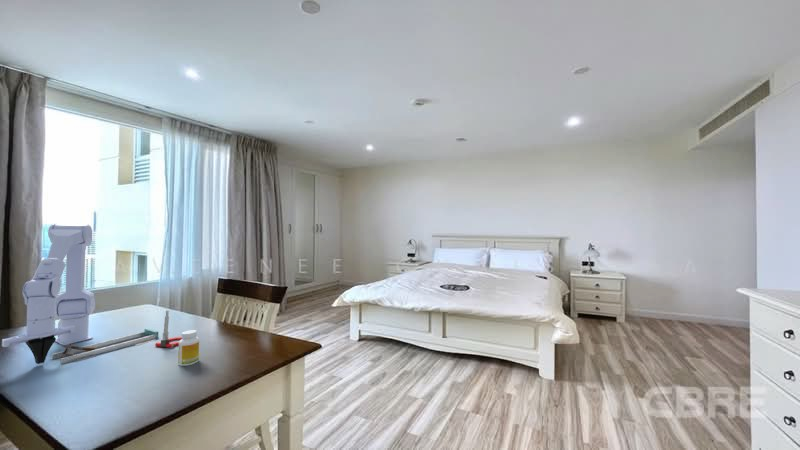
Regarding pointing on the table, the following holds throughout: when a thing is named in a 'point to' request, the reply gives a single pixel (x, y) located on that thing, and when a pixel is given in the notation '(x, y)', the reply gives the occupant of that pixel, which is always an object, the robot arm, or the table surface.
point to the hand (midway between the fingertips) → (40, 362)
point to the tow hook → (165, 340)
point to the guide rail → (147, 332)
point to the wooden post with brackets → (75, 349)
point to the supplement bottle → (188, 348)
